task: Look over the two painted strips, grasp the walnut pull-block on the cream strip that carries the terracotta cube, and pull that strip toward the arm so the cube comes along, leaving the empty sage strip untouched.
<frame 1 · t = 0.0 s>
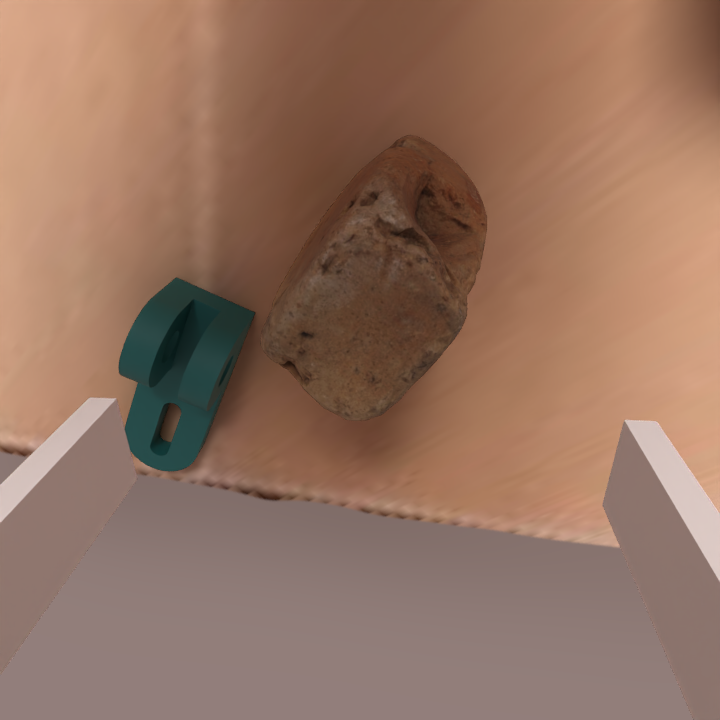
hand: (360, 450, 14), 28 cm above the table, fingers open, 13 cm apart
block: (393, 209, 39), on the table
bracket: (188, 379, 48), on the table
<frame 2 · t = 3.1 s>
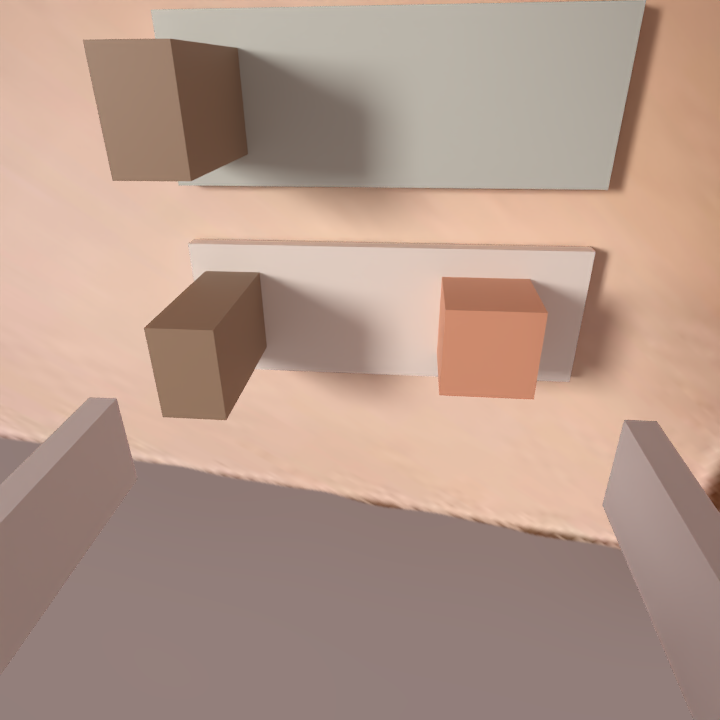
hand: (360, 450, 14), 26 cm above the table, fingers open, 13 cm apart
empty strip: (382, 106, 29), point 6 cm above the table, slide at 0.0 cm
cube strip: (380, 340, 36), point 6 cm above the table, slide at 0.0 cm, touching cube
cube: (481, 317, 39), point 1 cm above the table, touching cube strip
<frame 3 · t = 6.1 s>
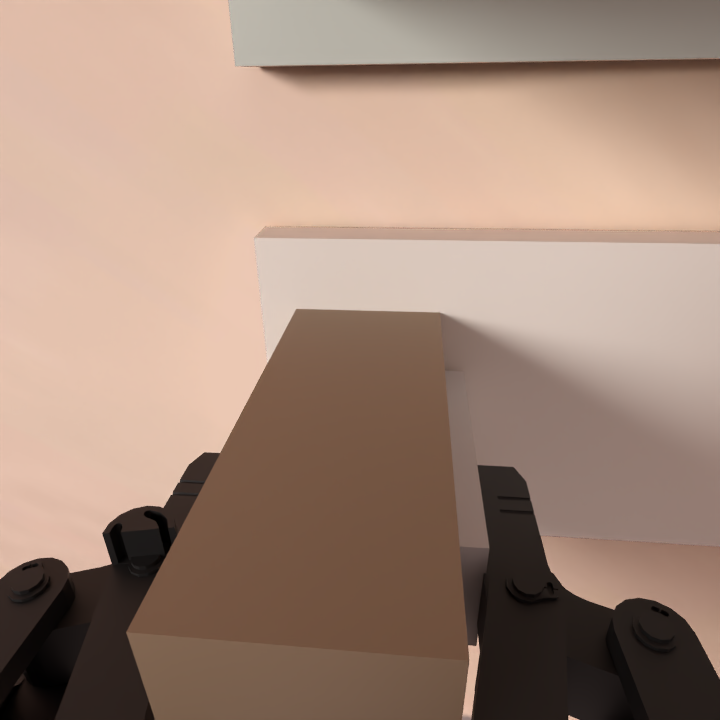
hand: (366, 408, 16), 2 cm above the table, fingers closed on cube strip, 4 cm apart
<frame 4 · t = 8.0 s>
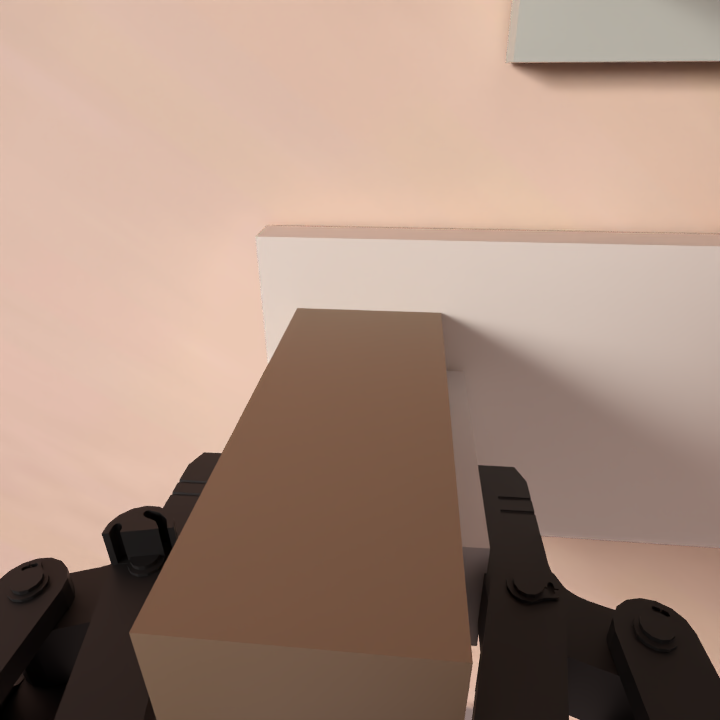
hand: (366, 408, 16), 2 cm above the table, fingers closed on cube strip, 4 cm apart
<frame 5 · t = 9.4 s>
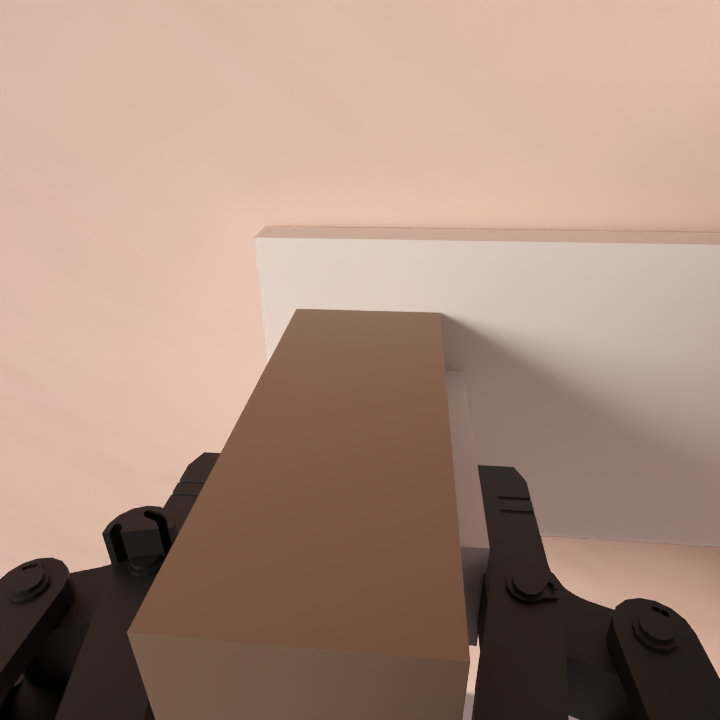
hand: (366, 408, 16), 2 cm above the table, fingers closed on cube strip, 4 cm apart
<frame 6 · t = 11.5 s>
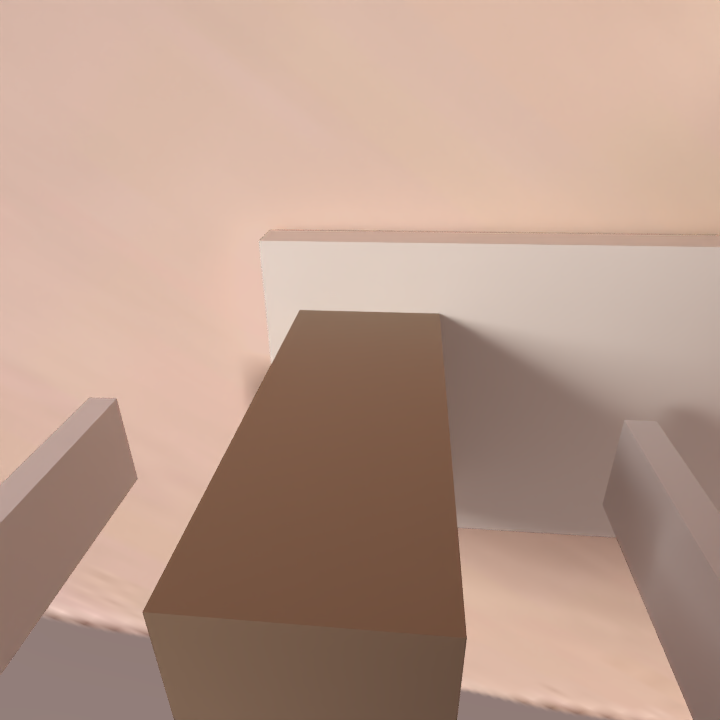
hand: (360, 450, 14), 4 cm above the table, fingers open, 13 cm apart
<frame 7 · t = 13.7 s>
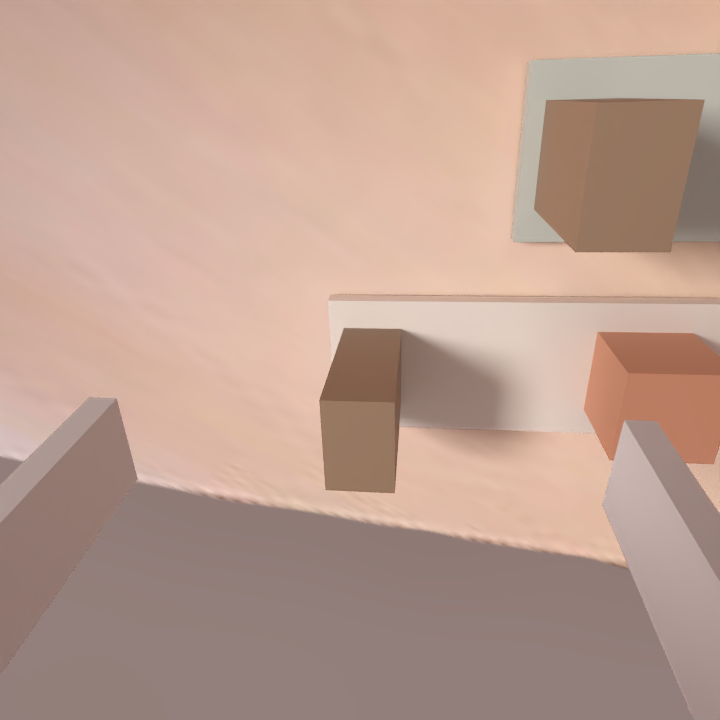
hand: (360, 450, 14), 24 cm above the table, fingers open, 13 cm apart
cube strip: (543, 402, 34), point 6 cm above the table, slide at 12.0 cm, touching cube
cube: (636, 372, 37), point 1 cm above the table, touching cube strip
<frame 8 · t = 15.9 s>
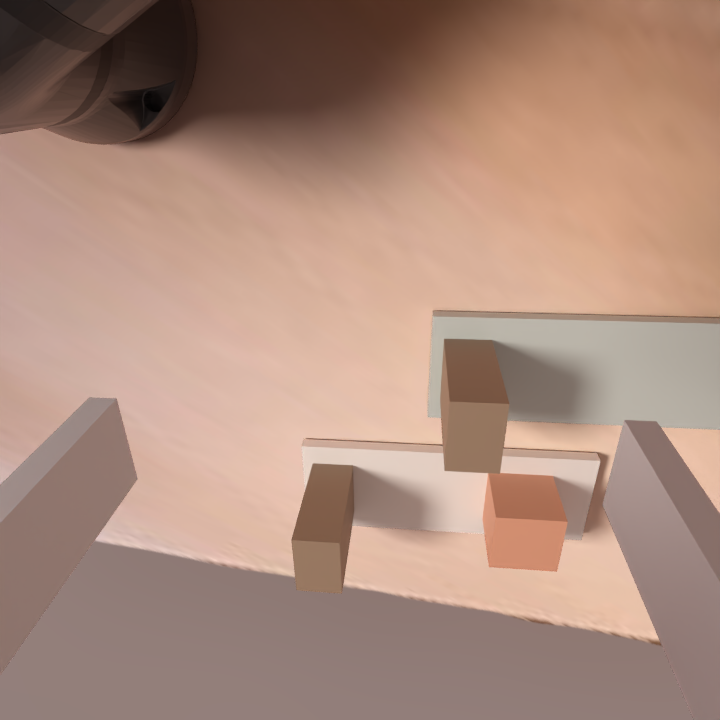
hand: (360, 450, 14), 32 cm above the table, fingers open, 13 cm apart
empty strip: (612, 402, 42), point 6 cm above the table, slide at 0.0 cm
cube strip: (445, 526, 50), point 6 cm above the table, slide at 12.0 cm, touching cube
cube: (516, 498, 53), point 1 cm above the table, touching cube strip
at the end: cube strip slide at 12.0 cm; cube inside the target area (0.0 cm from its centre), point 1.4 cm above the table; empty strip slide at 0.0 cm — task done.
